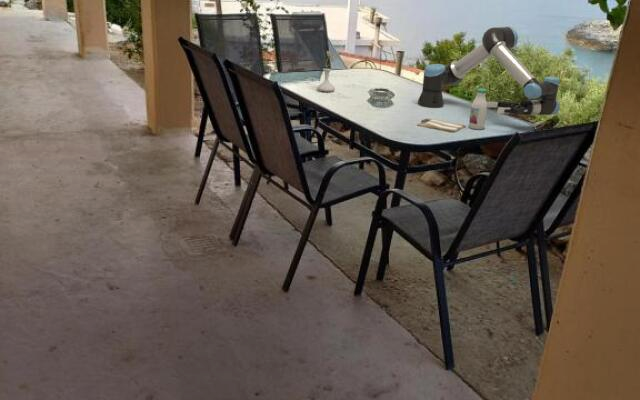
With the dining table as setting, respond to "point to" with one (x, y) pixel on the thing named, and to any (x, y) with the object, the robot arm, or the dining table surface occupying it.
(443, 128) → the clipboard
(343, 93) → the dining table surface
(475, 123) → the milk bottle
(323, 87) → the flower in vase
